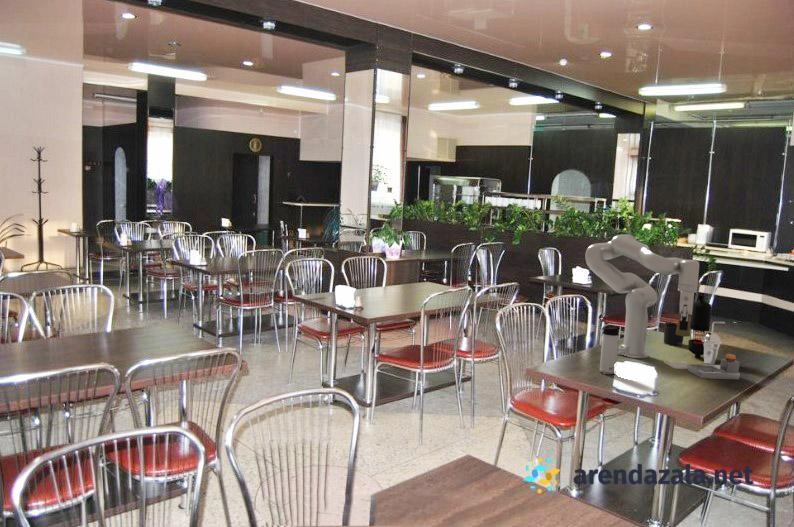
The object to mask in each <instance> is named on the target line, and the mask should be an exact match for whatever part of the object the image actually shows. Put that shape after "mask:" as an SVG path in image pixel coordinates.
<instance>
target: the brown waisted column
mask: <svg viewBox="0 0 794 527" xmlns="http://www.w3.org/2000/svg"><path fill="white" fill-rule="evenodd" d="M681 312H682V311H681ZM682 314H683V312H682ZM686 314H687V313H686ZM682 316H683V315H682ZM680 321H681V314H680V310H679V311H678V321H677V329H676V333H675V334H676V335H679V336H684V337H691V329H690V322H691V315H690V314H689V313H688V328H687V331H685V330H680V329H679V326H680Z"/></svg>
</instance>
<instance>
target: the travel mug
mask: <svg viewBox="0 0 794 527" xmlns="http://www.w3.org/2000/svg"><path fill="white" fill-rule="evenodd" d="M619 330H621V327H620V326H612V325H611V326H604V327H603V328H602V336H601V347H600V348H601V352H600V363H599V373H600V372H602V373H606V374H614V364H615V363H616V364H617V358H618V357H617V356H618V350H617V348H618V346H619V335H620V334H619V332H620V331H619ZM602 373H601V374H602ZM614 375H615V374H614Z"/></svg>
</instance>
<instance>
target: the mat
mask: <svg viewBox="0 0 794 527" xmlns="http://www.w3.org/2000/svg"><path fill="white" fill-rule="evenodd" d="M663 363H664V364H666V365H667V366H670V367H671V368H672V369H676V370H679V369H680V370H687V364H690V363H689V362H687V361H674V360H663Z"/></svg>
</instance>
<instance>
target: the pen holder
mask: <svg viewBox="0 0 794 527" xmlns="http://www.w3.org/2000/svg"><path fill="white" fill-rule="evenodd" d="M677 325H678V323H674V322H665V323H664V327H663V328H664V331H663V343H664V344H666V345H667V344H668V345H667V346H672V345H673V346H675V347H681V346H682V345H683V343H684V342H683V341H684V337H685V336H679V335H676V334H675V333H676V329H677ZM673 346H672V347H673Z"/></svg>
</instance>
